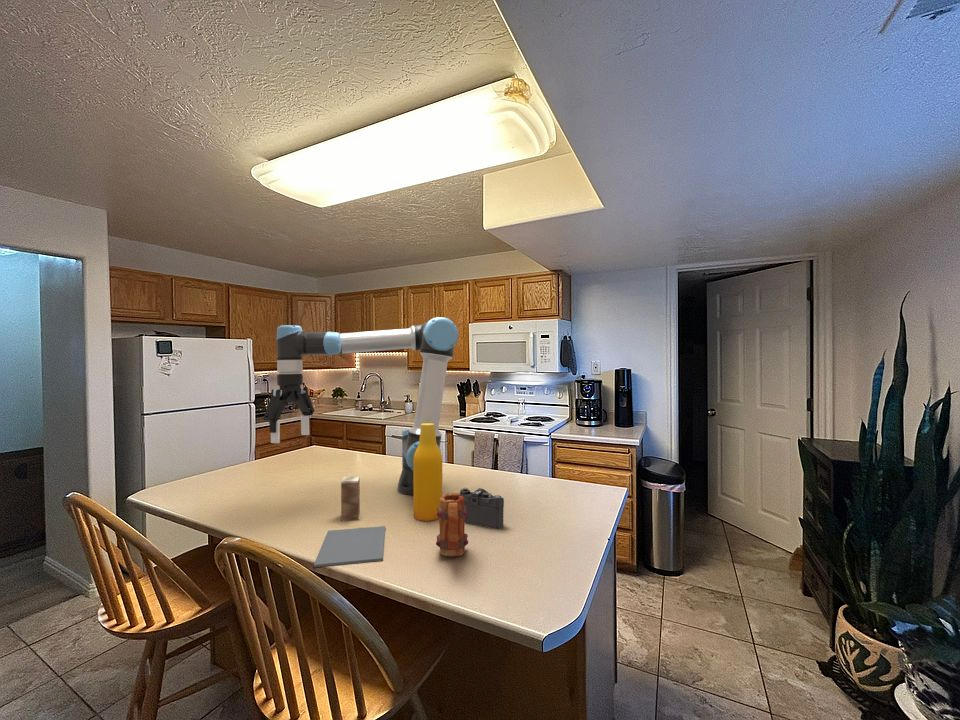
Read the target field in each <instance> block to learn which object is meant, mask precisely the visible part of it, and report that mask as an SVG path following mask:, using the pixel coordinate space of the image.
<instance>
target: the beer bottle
mask: <svg viewBox="0 0 960 720" xmlns="http://www.w3.org/2000/svg"><path fill="white" fill-rule="evenodd" d="M440 451H441V449H440V450H439V447H438V445H437V442H436V435H435V426H434V424H433V423H424V424H421V430H420V440H419V445H418V447H417V449H416V452H415V454H414V460H413V475H414V495H413V509H412V510H413V512H412V513H413V516H414V519H416V520H417V521H421V522H422V521H425V522H426V521H428V522H430V521H434V520H439V517H438V516H437V513H438V511H437V508H438V507H439V502H440V501H439V500H440V498H441V497H442V495H443V455H442V452H440Z"/></svg>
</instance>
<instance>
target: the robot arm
mask: <svg viewBox="0 0 960 720" xmlns="http://www.w3.org/2000/svg"><path fill="white" fill-rule="evenodd" d="M275 340H276V365H277V366H276V369H277V370H276V372H277V373H278V374H277V376H276V381H277V382H276V383H277V386H278V387H279V388H278V389H271V390H270V391H271V393H270V399H269V401H268V405H267V406H266V409H265V413H264V415H263V421H264V422H267V423H269V433H270V443H271V444H280V443H281V437H280V436H281V435H280V434H281V432H280V431H281V430H280V428H281V426H280V425H281V423H280V421H278V420H279V419H280V416H281V415H282V413H283V411H284V409H285V408H286V406H287V405H289V403H294V404H295V405H296V407H297V408H298V410H299V411H300V412H301V414H302V415H300V433H301V434H300V435H301V436H310V422H311V421H310V420H311V416H313V414H314V413H315V408H314V405H313V403H312V400H311V398H310V396H309V395H310V394H309V389H308V387H307V386H302V385H303V383H304V382H303V381H304V377H303V373H302V372H304V369H303V368H304V367H303V364H304V363H303V355H305V356H306V355H307V356H309V355H311V356H313V355H315V356H316V355H318V356H319V355H321V356H324V357H326V356H334V355H343V354H357V353H366V352H368V353H369V352H370V353H371V352H380V351H382V352H383V351H393V350H403V349H405V350H407V349H412V350H413V351H419V354H420V355H421V357H422V358H423V361H422V367H421V368H422V369H421V373H420V382H419V387H418V394H417V395H418V396H417V400H416V401H417V403H416V407H415V408H416V409H415V415H414V421H413V422H414V423H413V426H412V427H411V428H409V429H408V428H407V429H404V430H402V433H401V440H402V443H401V444H402V445H401V450H402V453H401V454H402V456H401V458H402V459H401V463H402V464H401V465H402V469H401V473H400V475H399V479H398V482H397V491H398V493H400V494H404V495H408V496H409V495H410V496H414V475H413V460H414V454H415V452H416V449H417V447H418V445H419V440H420V430H421V424H424V423H433V424H434V426H435V435H436V442H437V445H438V447H439V450H440V452H441V451H442V450H441V442H442V432H441V431H440V430H439V425H440V417H441V412H442V405H443V396H444V390H445V384H446V383H445V382H446V377H447V368H448V362H449V361H451V360H452V359H453V357H454V350H455V345H457V343H458V340H459V330H458V327H457V325H456V324H455V322H454V321H452V320H451V319H450V318H447V317H445V316H444V317H441V316H439V317H438V316H437V317H434V318H433V317H432V318H431V319H430V320H428V321H427V322H425V323H422V324H421V323H420V324H416V325H415V324H414V325H411V326H410V327H408V328H396V329H380V330H371V331H357V332H355V331H354V332H342V333H340V332H337V331H336V332H335V331H303V328H302V326H301V325H296V324H295V325H291V324H288V325H287V324H285V325H279V326H277V328H276V339H275ZM441 453H442V452H441Z"/></svg>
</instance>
